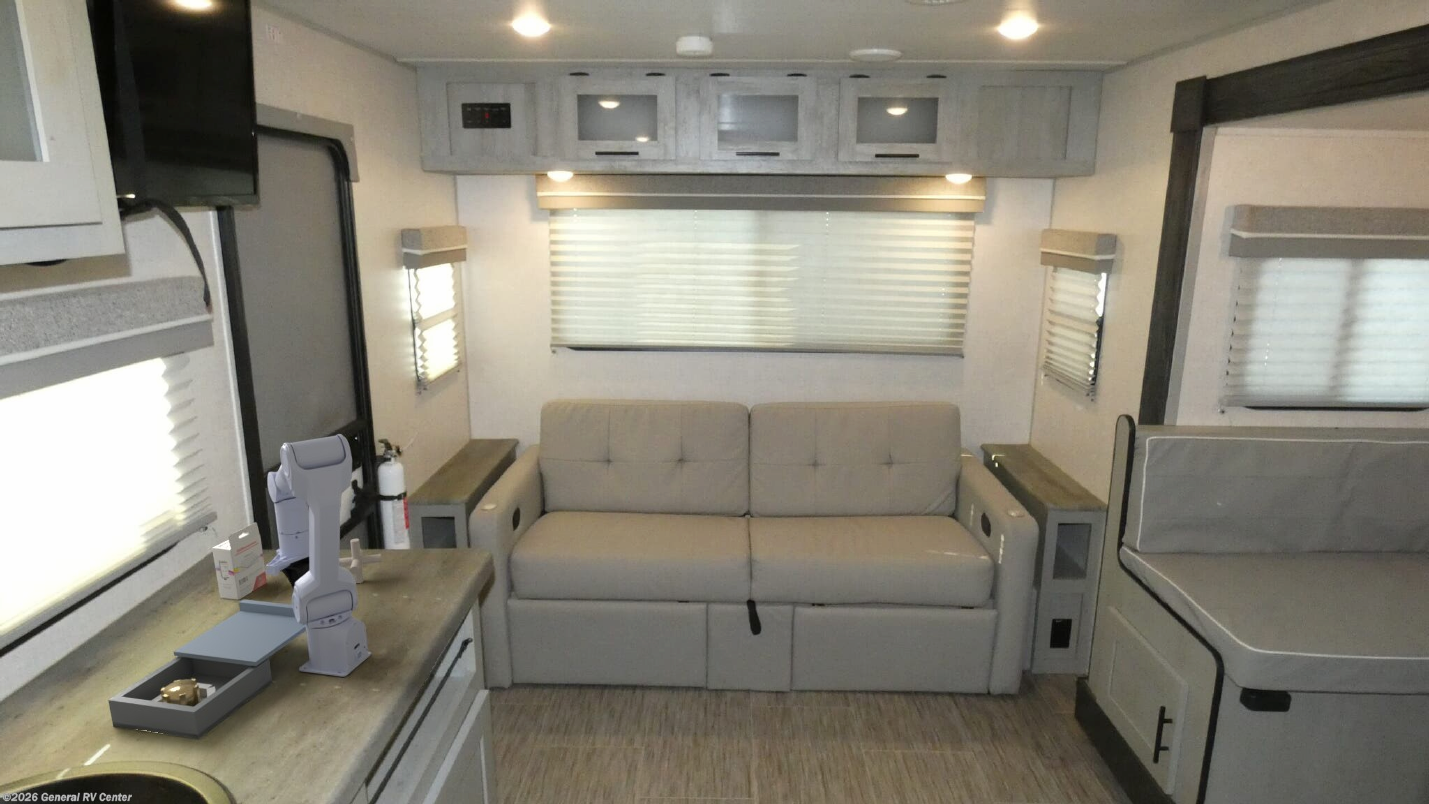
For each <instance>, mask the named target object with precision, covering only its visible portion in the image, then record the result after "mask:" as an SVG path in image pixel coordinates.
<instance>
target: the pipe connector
mask: <svg viewBox="0 0 1429 804" xmlns="http://www.w3.org/2000/svg"><path fill="white" fill-rule="evenodd" d="M360 543H361V542H360V539H359V538H353V539H350V551H351V553H350V554H351V556H350V557H349V556H348V557H342V558H341V557H339V566H341V567H349V566H350V569H349V571H350V572H351V574H352V575H353V577H354V579H355V582H356V583H360V584H362V583H363V582H364V575H363V565H367V564H368V565H369V564H377V563H382V554H381V553H378V554H370V555H364V553H365V552H364V550H363V549H362V548H361V545H360Z"/></svg>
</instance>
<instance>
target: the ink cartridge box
mask: <svg viewBox="0 0 1429 804" xmlns="http://www.w3.org/2000/svg"><path fill="white" fill-rule="evenodd" d="M259 530H260V529H259V527H258V523H257V522H253V523H251V524H249V525H246V526H244V527H243V528H241V529H239V530H236V531H234V532H232V533H231V534H229V535H228V536H227V539H228V540H226V541H223V542H221V543H219V544H217V545H215V546H213V547H211V549H212V550H211V551H212V554H213V555H212V556H213V562H214V567H215V569H214V570H215V574H216V579H217V580H216V581H217V585H218V586H217V587H218V592H219V597H220V599H226V600H227V599H228V600H241V599H243V598H244V597H246V596H247V595H249V594H251V593H252V591H253V592H254V591H256V590H257V589H260V588H261V587H263V586H264V585H266V584H267V583H268V582H267V572H266V565H265V559H264V554H263V546H262V539H261V534H260V531H259Z"/></svg>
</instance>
